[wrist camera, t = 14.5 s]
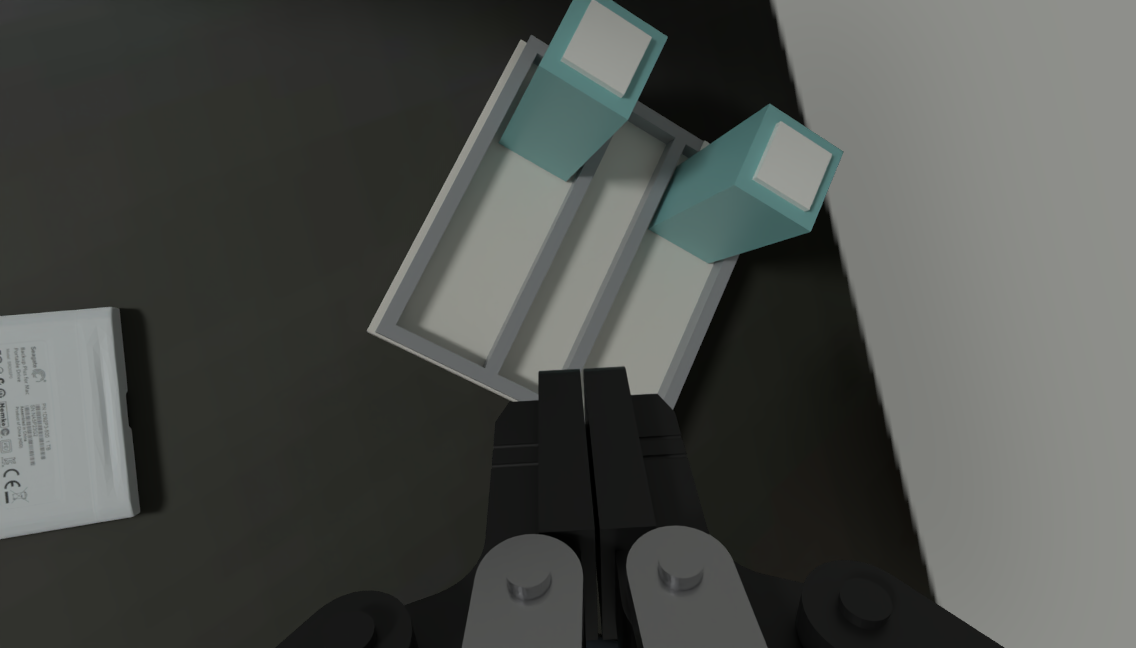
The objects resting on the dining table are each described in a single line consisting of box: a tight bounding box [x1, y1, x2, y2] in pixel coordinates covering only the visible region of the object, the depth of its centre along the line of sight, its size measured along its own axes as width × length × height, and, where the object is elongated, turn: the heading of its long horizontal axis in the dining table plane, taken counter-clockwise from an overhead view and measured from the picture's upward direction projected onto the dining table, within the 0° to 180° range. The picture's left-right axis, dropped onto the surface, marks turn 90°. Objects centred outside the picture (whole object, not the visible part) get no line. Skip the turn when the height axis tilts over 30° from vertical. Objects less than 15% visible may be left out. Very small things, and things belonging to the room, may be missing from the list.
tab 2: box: [648, 104, 843, 264], centre depth 28 cm, size 4×4×8 cm
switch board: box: [367, 35, 739, 418], centre depth 31 cm, size 15×14×2 cm
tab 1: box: [499, 0, 668, 182], centre depth 26 cm, size 4×4×8 cm
